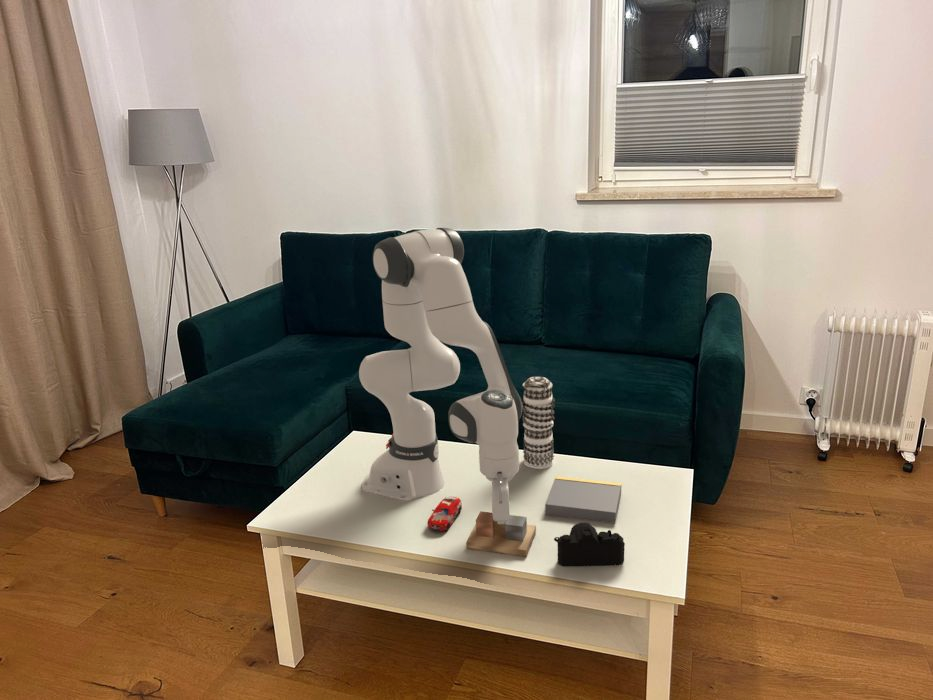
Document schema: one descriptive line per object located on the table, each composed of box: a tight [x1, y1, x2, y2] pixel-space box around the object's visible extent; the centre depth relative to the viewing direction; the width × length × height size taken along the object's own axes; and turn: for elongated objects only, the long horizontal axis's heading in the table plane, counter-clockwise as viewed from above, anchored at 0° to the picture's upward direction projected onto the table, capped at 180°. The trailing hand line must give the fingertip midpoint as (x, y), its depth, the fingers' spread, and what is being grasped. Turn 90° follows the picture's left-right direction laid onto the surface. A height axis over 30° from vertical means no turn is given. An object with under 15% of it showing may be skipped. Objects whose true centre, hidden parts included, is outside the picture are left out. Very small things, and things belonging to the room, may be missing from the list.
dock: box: [544, 475, 622, 524], centre depth 181 cm, size 17×14×3 cm
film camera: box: [553, 522, 626, 568], centre depth 159 cm, size 15×10×9 cm, turn 88°
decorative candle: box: [521, 375, 556, 470], centre depth 199 cm, size 9×9×25 cm
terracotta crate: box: [475, 510, 494, 538], centre depth 167 cm, size 4×4×4 cm
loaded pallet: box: [465, 520, 537, 557], centre depth 165 cm, size 14×10×12 cm
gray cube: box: [505, 514, 528, 542], centre depth 165 cm, size 4×4×4 cm
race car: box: [426, 496, 463, 532], centre depth 176 cm, size 13×5×4 cm, turn 159°
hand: (500, 516), depth 165 cm, fingers closed on loaded pallet, 4 cm apart
